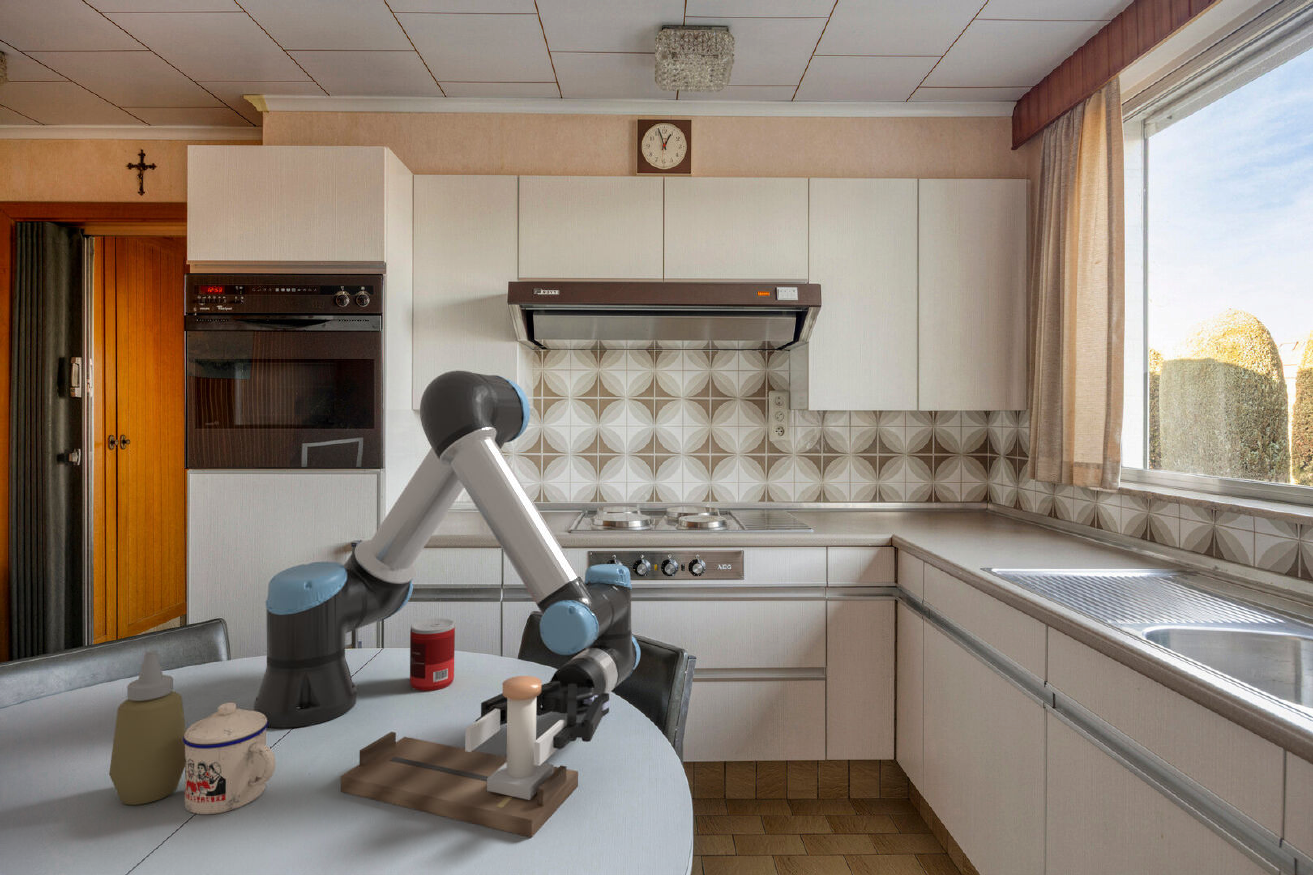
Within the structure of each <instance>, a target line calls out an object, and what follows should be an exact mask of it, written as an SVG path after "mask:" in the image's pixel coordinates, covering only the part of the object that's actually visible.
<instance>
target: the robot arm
mask: <svg viewBox="0 0 1313 875" xmlns="http://www.w3.org/2000/svg"><path fill="white" fill-rule="evenodd" d="M419 415H420V416H419V417H420V418H419V419H420V422H421V426H422V429H423V433H424V434H425V437H426V439H427V441H428V444H429V445H430V447H431V448H429V449H430V450H429V451H428V452H427V454H426V456H425V457H424V459H423V460H422V461H421V463H420V465H419V466H418V467H417V469H416V471H415V472H414V474H413V476H412V477H411V478H410V479H409V482H408V483H407V485H406V486H405V488H404V489H403V490H402V492H401V494H400V495H399V497H397V500H396V502H395V503H394V505H393V506H392V507H391V509H390V511H389V512H388V514H387V515H386V516H385V518H384V520H383V521H382V522H381V524H380V525H379V528H378V529H377V531H376V532H375V533H374V534H373V536H372V538H371V539H368V540H363V541H360V542H359V543H358V544H357V545H356V547H354V550H353V551H352V553H351V554H350V555H349V557H348V558H347V560H346V562H345V563H343V564H342V563H339V562H337V561H313V562H309V563H308V564H305V563H304V564H298V565H295V566H291V567H288V568H286V569H283V570H281V571H280V572H278V573H276V574H275V575H274V576H273V577H271V579H270V581H269V582H268V586H267V597H266V600H265V608H266V668H265V672H264V674H263V678H262V681H261V684H260V689H259V692H258V695H257V696H256V698H255V699H254V702H253V711H256V712H260V713H262V714H264V715H265V716H266V718H267V720H268V726H267V728H268V727H270V728H278V729H279V728H281V729H282V728H283V729H284V728H285V729H286V728H298V727H300V728H301V727H306V726H311V725H316V724H320V723H324V722H327V721H330V720H333V719H336V718H338V717H341V716H342V715H344V714H346V713H347V712H350V710H352V708H354V706H355V705H356V703H357V689H356V685H355V683H354V681H353V679H352V675H351V671H350V668H349V665H348V662H347V659H346V634H348V633H350V632H353V631H356V630H358V629H360V628H364V627H365V626H368V625H372V624H374V623H377V622H381V621H384V620H386V619H389V618H391V617H392V616H394V615H395V614H397V613H398V612H399V611H401V610H402V609H403V608H404V607H405V606H406V605H407V603H408V602H409V601H410V599H411V596H412V594H413V589H414V585H413V582H412V581H414V577H415V575H416V567H415V566H414V563H415V561H416V560H417V559H418V556H420V554H421V552H422V551H423V549H424V548H425V546H426V545H427V543H428V542H429V540H430V539H431V537H432V536H433V535H434V533H435V531H436V530H437V529H438V527H439V525H441V522H442V521H443V520H444V518H445V516H446V515H447V514H448V512H449V511H450V509H451V508H452V507H453V505H454V503H455V501H456V500H457V499H458V497H459V496H460V494H461V493H462V492H463V491H464V489H465V490H466V492H467V494H468V496H469V497H470V499H471V500H472V502H473V504H474V506H475V507H476V508H477V511H478V512H479V514H480V515H481V517H482V518H483V520H484V522H485V523H486V525H487V527H488V528H489V530H490V531H491V533H492V535H493V536H494V538H495V540H496V541H497V542H498V544H499V546H500V547H501V549H502V550H503V552H504V555H506V557H507V558H508V560H509V562H510V564H511V565H512V566H513V567H512V568H514V570H515V572H516V574H517V576H519V578H520V580H521V582H522V583H523V584H524V586H525V588H526V590H527V592H528V593H529V594H530V596H531V598H532V599H533V601H534V602H535V604H536V606H537V608H538V609H539V611H540V614H541V618H540V620H539V621H540V622H539V632H540V638H541V639H542V642H543V644H544V645H545V646H546V647H547V648H548V649H549V650H550V651H551V652H553V653H555V654H558V655H561V656H570V655H575V654H577V653H578V654H577V655H575V656H574V657H572V658H571V659H570V660H569V661H567V662H566V663H565V664H563V665H562V666H560V667H559V668H557V669H556V671H555V672H554V673H553V676H552V677H551V679H550V680H549V681H548V682H546V683H543V684H541V694H540V695H538V696H537V699H536V717H537V716H538V717H540V716H542V715H546V714H549V713H558V714H563V715H565V714H566V720H564V719H559V720H558V721H557V722H556V723H555V724H553V725H552V726H551V727H550V728H549V729H547V730H546V731H544V733H543V734H541V735H540V736H539V737H538V738H536V741H535V742H534V765H537V766H540V765H541V764H542V763H545V761H547V760H548V759H549V758H550V757H551V756H552V755H553V754H554V753H555V752H556V751H558V750H561V749H564V748H565V747H567V745H568V744H570V743H571V742H575V741H577V739H578V738H579V739H581V741H582V742H584V743H585V742H586V743H588V742H591V741H592V739H593V738H594V735H595V733H596V731H597V730H598V727H599V724H600V723H601V720H602V718H603V717H605V716H606V715H608V714H609V713H610V692H612V691H613V690H614V689H615V688H616V687H618V686H619V685H620V684H621V683H622V682H623V681H625V680H627V679H628V678H629V677H630V676H631V675H632V674H633V671H635V669H636V668H637V666H638V665H639V662H640V659H641V647H640V645H639V643H638V641H637V638H635V637H634V636H633V633H632V589H633V587H632V582H631V580H632V579H631V572H630V570H629V568H628V567H627V566H626V565H625V566H624V565H623V564H618V563H617V564H616V563H614V564H613V563H604V564H603V563H602V564H595V565H592V566H589V567H588V568H587V569H586V570H585V574H584V581H583V580H582V578H581V576H580V574H579V573H578V571H577V570H576V568H575V567H574V564H573V563H572V562H571V560H570V559H569V558H570V557H568V555H567V554H566V552H565V550H564V548H563V547H562V546H561V544H560V543H559V541H558V539H557V538H556V536H555V535H554V533H553V532H552V530H551V528H550V526H549V525H548V523H547V522H546V520H545V519H544V517H543V516H542V514H541V513H540V510H539V509H538V507H537V506H536V504H535V503H534V501H533V500H532V498H531V496H530V495H529V493H528V492H527V490H526V489H525V487H524V485H523V483H522V482H521V480H520V478H519V477H518V475H517V474H516V472H515V470H514V469H513V467H512V466H511V464H510V463H509V461H508V460H507V458H506V456H505V454H504V453H503V451H502V448H503V447H504V445H505V444H506V443H511V442H513V441H514V440H517V439H518V438H519V437H521V436H522V435H523V433H524V432H525V431H526V429H527V428H528V425H529V422H530V417H531V409H530V403H529V399H528V397H527V394H526V393H525V391H524V390H523V389H522V387H521V386H519V385H518V383H516V382H514V381H513V380H511V379H509V378H508V379H507V378H505V377H504V376H500V375H498V374H497V375H494V374H491V375H489V374H483V373H476V372H472V371H468V370H451V371H448V372H444V373H442V374H440V375H438V376H437V377H435V378H434V379H432V380H431V382H430V383H428V385H427V386H426V387H425V389H424V392H423V393H422V396H421V399H420V405H419ZM584 649H585V650H584ZM579 652H580V653H579ZM583 715H584V716H583ZM577 716H583V718H582V720H581V722H577ZM505 724H506V725H507V698H506V697H504V696H503V692H502V693H499V694H498V695H495V696H493V697H490V698H489V699H486V700H484V701H482V702H480V717H478V718H477V719H476V720H475V721H474V722H473V723H472V724H471V725H469V726H467V727H466V728H465V732H464V733H465V738H464V739H465V743H464V746H465V747H464V749H465V751H467V752H471V751H473V750H474V751H475V749H476V748H479V746H480V745H482V744H483V743H485V742H486V741H488V740H489V739H490V738H491V737H492V736H495V735H496V734H497V733H498V732H499V731H500V730H501V726H502V725H505Z"/></svg>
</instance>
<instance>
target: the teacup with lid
mask: <svg viewBox="0 0 1313 875" xmlns="http://www.w3.org/2000/svg"><path fill="white" fill-rule="evenodd" d="M267 728H268V720H267V718H266V716H265V715H264V714H262V713H260V712H256V711H254V710H246V709H242V708H237V704H236V703H234V702H226V703H222V704H221V705H219V706H218V707H217V711H216V712H214V713H212V714H211V715H209V716H207V717H205V718H202V719H200V720H198V721H196V722H194V723H192V724H191V725H189V727H188V728H187V729H186V732H185V734H184V737H183V742H184V744H185V768H184V806H185V809H186V810H187V811H189V812H191V813H194V814H198V815H212V814H214V815H215V814H216V815H217V814H220V813H226V812H230V811H233V810H236V809H238V808H239V809H240V808H241V807H243V806H245V805H248V804H249V803H252V802H253V801H255V800H256V799H257V798H259V797H260V796H261V795H262V794H263V792H264V791H265V788H266V785H267V784H266V783H267V782H268V781H269V780H270V779H271V778H272V776H274V775H273V774H274V772H275V770H276V763H277V762H276V756H275V754H274V752H273V750H272V749H271V748H270V747H269V746H267Z"/></svg>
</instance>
